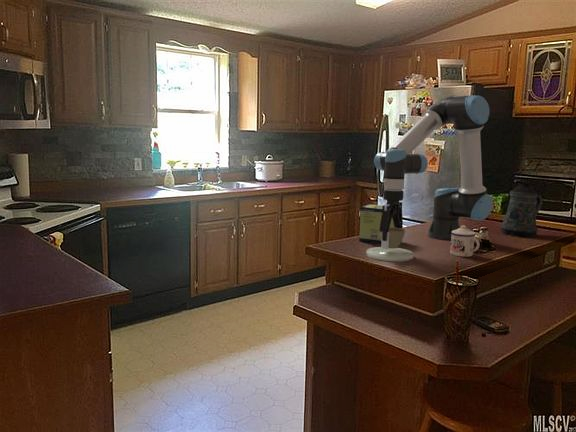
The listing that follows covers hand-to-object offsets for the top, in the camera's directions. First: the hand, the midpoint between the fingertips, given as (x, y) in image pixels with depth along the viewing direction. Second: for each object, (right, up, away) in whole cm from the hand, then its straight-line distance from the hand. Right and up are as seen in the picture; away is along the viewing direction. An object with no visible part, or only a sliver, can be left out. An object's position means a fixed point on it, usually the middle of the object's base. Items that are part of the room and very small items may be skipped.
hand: (390, 246), depth 196 cm
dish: (0, -4, +1) cm, 4 cm away
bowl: (0, 0, 0) cm, 1 cm away
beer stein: (+75, +3, +53) cm, 92 cm away
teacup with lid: (+31, -4, +5) cm, 31 cm away
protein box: (+1, +1, +28) cm, 28 cm away
